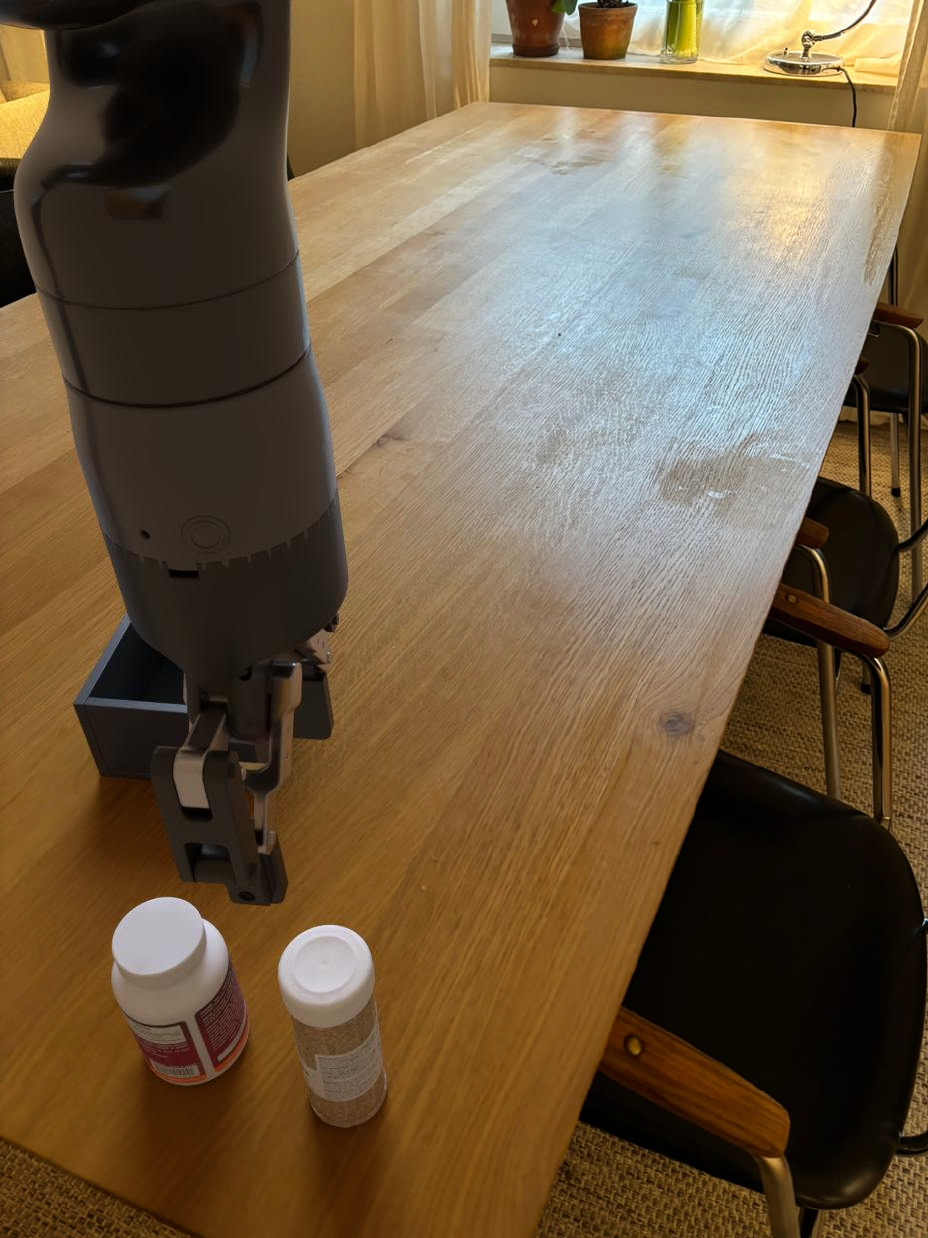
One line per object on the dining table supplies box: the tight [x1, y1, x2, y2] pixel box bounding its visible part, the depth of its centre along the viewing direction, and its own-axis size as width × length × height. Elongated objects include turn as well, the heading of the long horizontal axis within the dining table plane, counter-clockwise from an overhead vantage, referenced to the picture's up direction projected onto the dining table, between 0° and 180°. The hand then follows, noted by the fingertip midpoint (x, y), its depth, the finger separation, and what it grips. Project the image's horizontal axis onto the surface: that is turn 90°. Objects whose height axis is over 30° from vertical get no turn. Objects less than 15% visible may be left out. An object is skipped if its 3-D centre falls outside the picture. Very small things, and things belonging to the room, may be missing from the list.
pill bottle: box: [110, 896, 250, 1086], centre depth 55 cm, size 6×6×11 cm
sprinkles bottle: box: [277, 924, 388, 1129], centre depth 52 cm, size 5×5×14 cm
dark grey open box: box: [72, 611, 269, 781], centre depth 76 cm, size 13×13×8 cm
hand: (287, 808), depth 42 cm, fingers open, 8 cm apart
